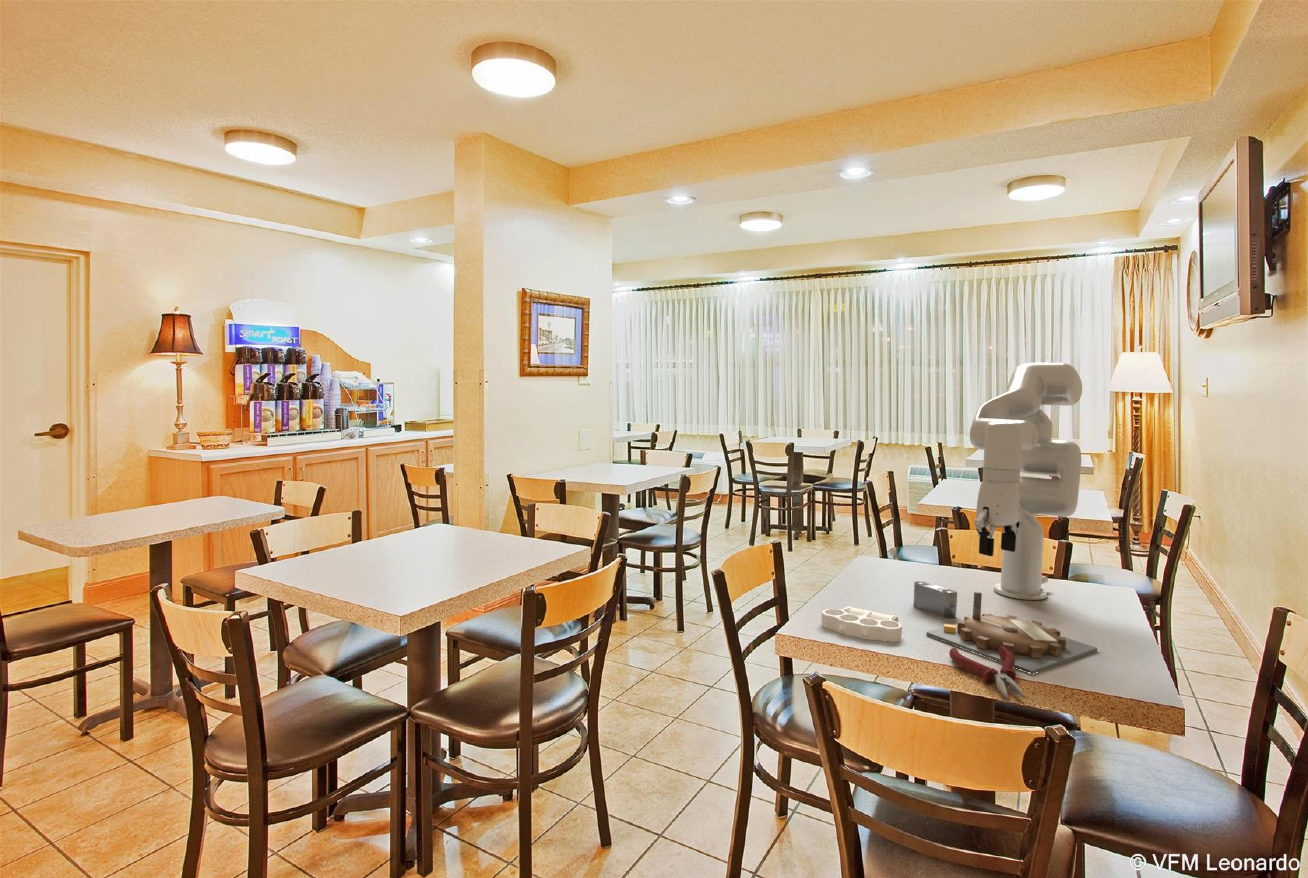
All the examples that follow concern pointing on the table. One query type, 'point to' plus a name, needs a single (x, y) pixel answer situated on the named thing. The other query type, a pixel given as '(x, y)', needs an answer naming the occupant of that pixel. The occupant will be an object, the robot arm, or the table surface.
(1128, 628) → the table surface
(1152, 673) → the table surface
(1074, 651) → the index base plate
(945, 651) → the table surface
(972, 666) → the pliers
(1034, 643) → the sprocket wheel
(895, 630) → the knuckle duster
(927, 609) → the chain link
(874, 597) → the table surface
